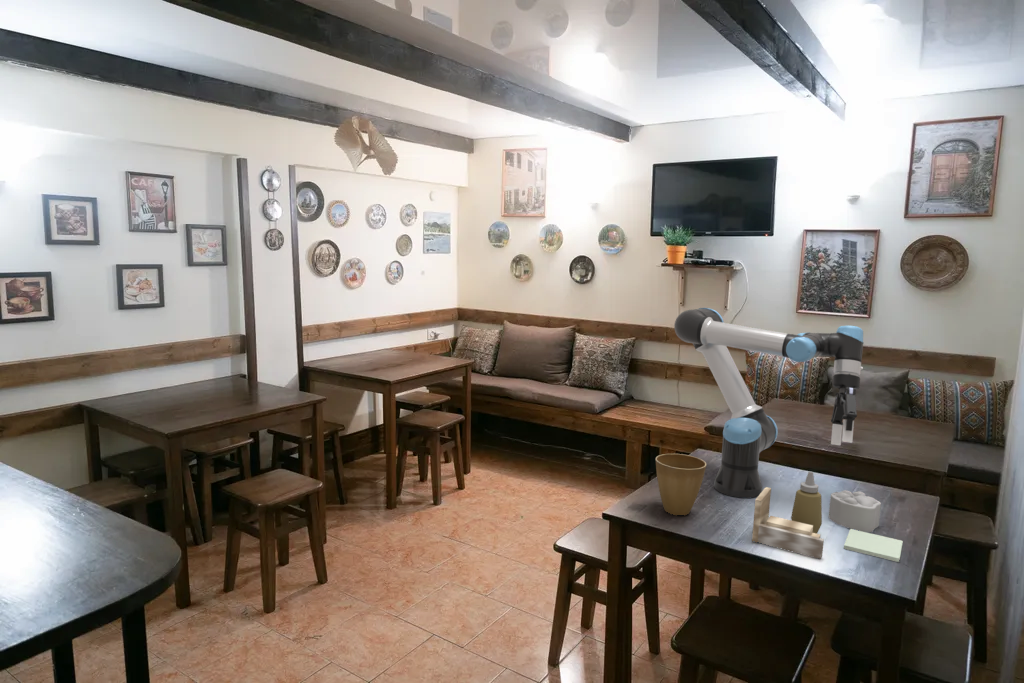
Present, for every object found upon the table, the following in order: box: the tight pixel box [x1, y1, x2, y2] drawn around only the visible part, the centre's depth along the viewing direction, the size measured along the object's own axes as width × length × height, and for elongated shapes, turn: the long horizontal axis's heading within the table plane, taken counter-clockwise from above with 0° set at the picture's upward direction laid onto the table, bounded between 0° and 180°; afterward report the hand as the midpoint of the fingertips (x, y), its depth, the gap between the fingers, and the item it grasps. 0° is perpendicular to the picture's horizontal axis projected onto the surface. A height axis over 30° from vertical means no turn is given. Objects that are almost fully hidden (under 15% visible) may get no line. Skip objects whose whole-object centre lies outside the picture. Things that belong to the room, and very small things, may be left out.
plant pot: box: [655, 453, 707, 516], centre depth 199 cm, size 15×15×16 cm
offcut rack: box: [751, 487, 825, 560], centre depth 180 cm, size 18×12×12 cm
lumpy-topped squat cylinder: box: [828, 490, 882, 533], centre depth 195 cm, size 10×13×9 cm
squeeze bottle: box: [790, 471, 823, 534], centre depth 186 cm, size 8×8×18 cm
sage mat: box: [843, 528, 904, 563], centre depth 179 cm, size 13×13×1 cm
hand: (841, 443), depth 200 cm, fingers open, 13 cm apart
